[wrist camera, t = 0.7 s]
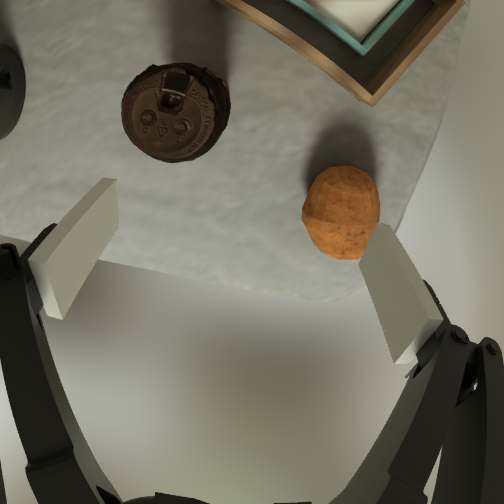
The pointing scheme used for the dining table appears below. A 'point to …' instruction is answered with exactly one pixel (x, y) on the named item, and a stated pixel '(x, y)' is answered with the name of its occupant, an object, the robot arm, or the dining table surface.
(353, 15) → the crate
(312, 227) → the potato
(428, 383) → the robot arm
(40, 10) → the dining table surface
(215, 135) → the coffee cup
